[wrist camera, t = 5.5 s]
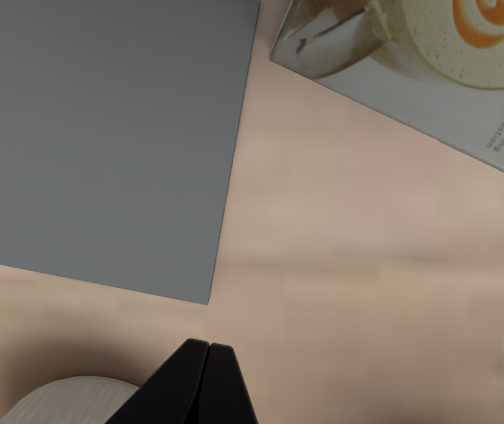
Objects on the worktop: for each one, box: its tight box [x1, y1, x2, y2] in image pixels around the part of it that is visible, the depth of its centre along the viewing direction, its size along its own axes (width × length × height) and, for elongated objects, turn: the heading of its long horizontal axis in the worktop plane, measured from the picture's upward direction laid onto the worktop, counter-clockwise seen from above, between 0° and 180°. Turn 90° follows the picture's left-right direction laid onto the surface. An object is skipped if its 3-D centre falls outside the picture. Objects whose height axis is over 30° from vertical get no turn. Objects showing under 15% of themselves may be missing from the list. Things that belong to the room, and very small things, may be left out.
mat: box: [0, 0, 260, 305], centre depth 17 cm, size 18×14×1 cm
